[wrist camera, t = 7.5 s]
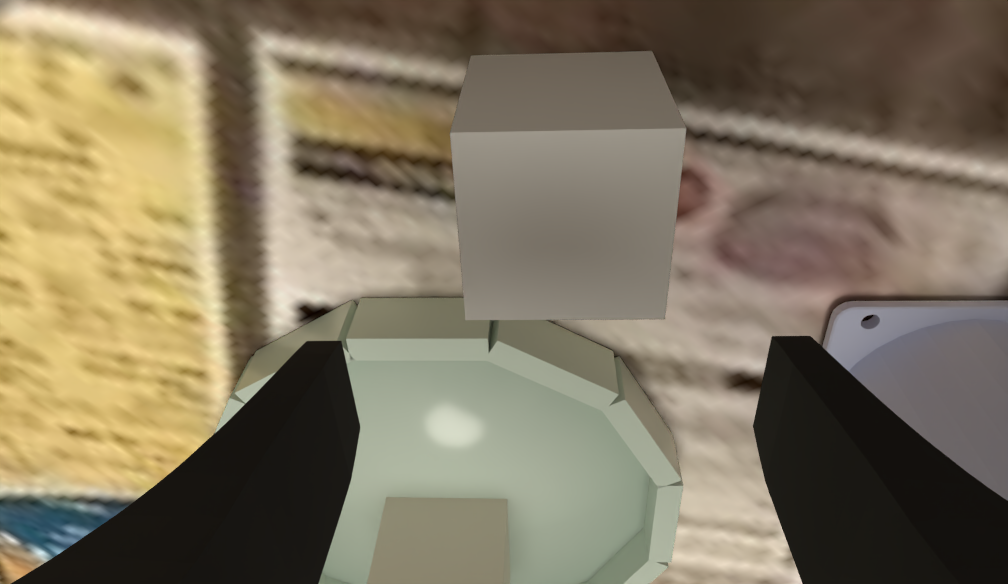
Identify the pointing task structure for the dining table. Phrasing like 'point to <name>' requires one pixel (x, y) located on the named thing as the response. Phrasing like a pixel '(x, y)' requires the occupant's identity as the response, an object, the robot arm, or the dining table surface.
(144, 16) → the dining table surface
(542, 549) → the serving bowl
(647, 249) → the grey stone block
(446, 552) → the beige stone block
